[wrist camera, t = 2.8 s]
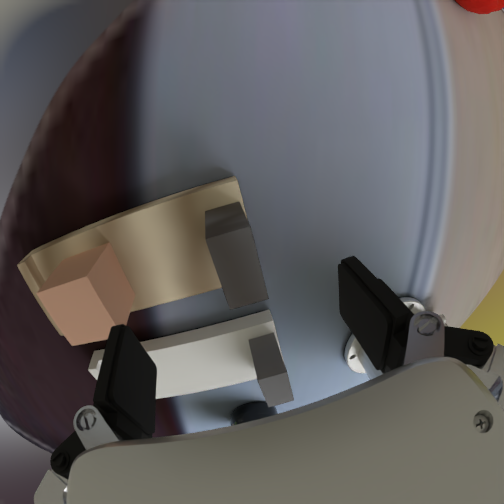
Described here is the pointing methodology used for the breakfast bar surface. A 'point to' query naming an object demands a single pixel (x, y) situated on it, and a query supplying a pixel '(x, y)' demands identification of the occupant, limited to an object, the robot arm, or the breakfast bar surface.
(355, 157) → the breakfast bar surface
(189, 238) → the birch strip
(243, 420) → the supplement bottle
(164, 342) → the light grey piece
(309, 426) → the robot arm
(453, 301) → the breakfast bar surface
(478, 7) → the tomato
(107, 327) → the terracotta block
